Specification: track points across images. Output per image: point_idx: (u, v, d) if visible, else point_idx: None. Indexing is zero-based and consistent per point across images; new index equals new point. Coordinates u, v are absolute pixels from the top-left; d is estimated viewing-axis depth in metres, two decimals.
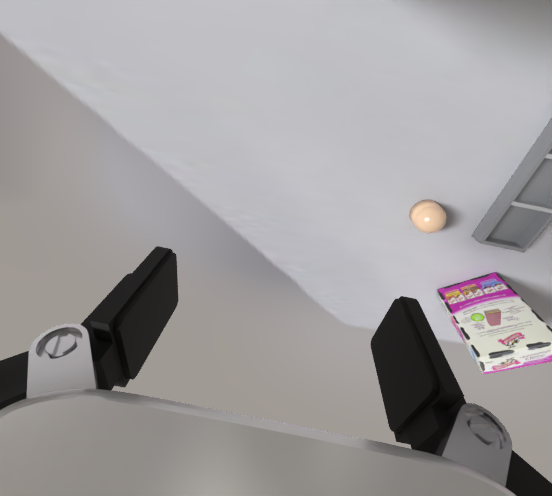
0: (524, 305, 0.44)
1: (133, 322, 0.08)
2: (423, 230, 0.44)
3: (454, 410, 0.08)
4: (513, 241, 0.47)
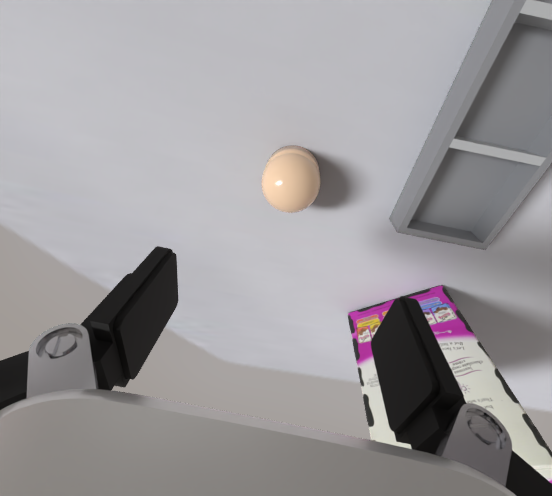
0: (483, 357, 0.22)
1: (133, 322, 0.08)
2: (274, 205, 0.21)
3: (454, 410, 0.08)
4: (466, 229, 0.25)
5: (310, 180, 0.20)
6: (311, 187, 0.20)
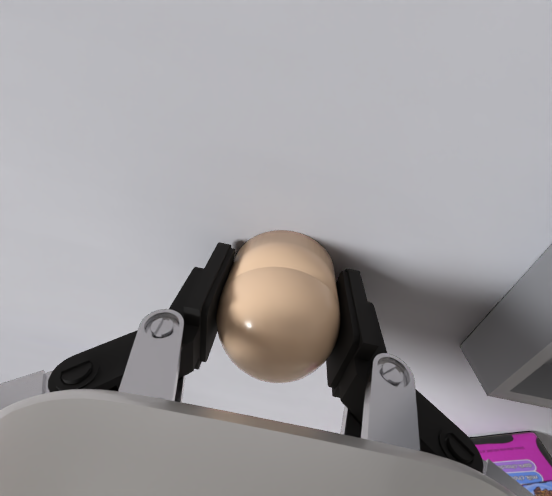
0: None
1: (212, 309, 0.09)
2: None
3: None
4: None
5: (321, 337, 0.09)
6: (323, 349, 0.09)
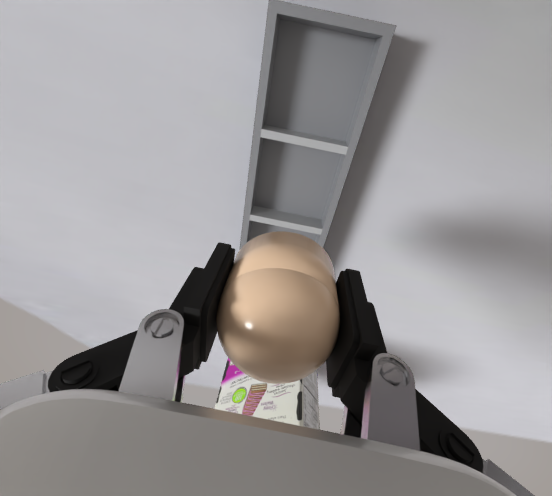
0: (296, 381, 0.27)
1: (212, 309, 0.09)
2: None
3: None
4: None
5: (320, 338, 0.09)
6: (322, 350, 0.09)
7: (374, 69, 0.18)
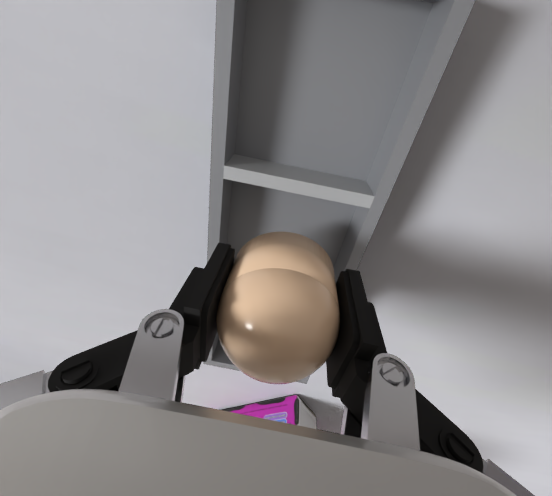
0: None
1: (212, 309, 0.09)
2: None
3: None
4: None
5: (320, 339, 0.09)
6: (322, 350, 0.09)
7: (434, 60, 0.09)
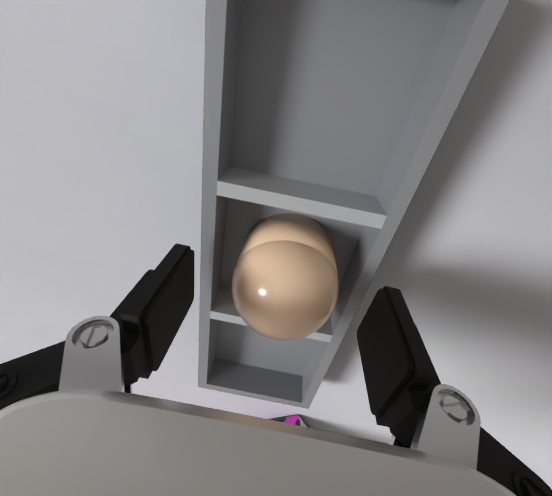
0: None
1: (158, 315, 0.08)
2: (254, 330, 0.12)
3: (429, 392, 0.08)
4: (296, 374, 0.20)
5: (321, 298, 0.10)
6: (323, 309, 0.10)
7: (461, 62, 0.08)
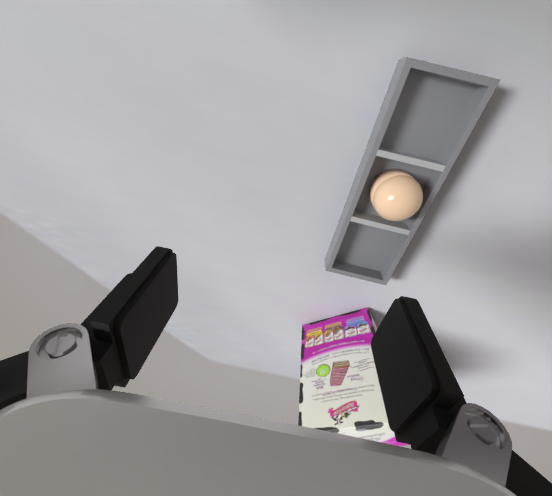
0: None
1: (133, 322, 0.08)
2: (385, 215, 0.27)
3: (454, 410, 0.08)
4: (376, 269, 0.35)
5: (419, 196, 0.26)
6: (419, 202, 0.26)
7: (477, 109, 0.23)
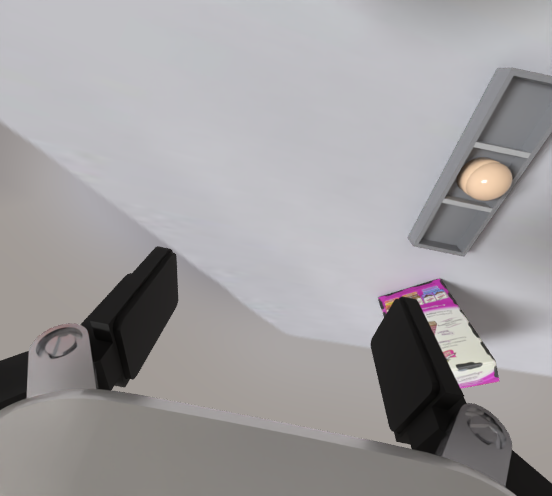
0: (462, 317, 0.39)
1: (133, 322, 0.08)
2: (480, 195, 0.33)
3: (454, 410, 0.08)
4: (453, 244, 0.42)
5: (511, 179, 0.32)
6: (510, 183, 0.32)
7: None
